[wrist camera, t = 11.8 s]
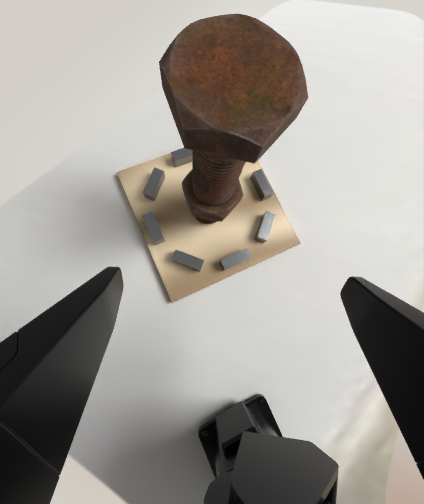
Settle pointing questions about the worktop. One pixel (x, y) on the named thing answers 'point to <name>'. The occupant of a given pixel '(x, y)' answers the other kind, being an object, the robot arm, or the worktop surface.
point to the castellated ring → (190, 261)
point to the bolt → (229, 103)
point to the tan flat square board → (203, 227)
